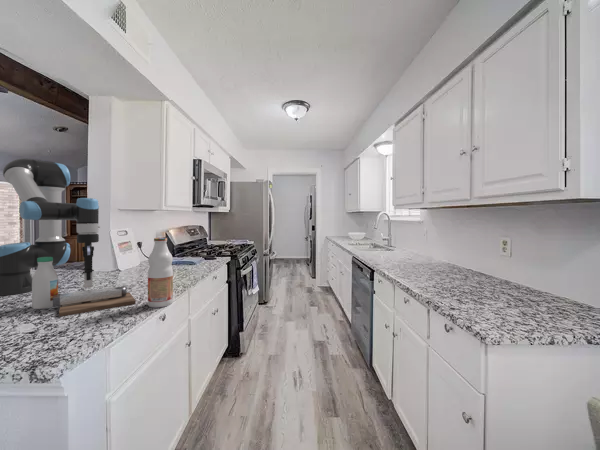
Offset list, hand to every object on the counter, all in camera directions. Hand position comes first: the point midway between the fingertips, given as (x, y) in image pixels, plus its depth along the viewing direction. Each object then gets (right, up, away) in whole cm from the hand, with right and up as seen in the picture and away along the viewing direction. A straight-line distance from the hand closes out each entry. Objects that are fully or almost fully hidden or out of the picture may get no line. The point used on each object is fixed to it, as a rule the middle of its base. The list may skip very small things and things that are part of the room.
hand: (88, 287), depth 118 cm
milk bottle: (-10, -6, -10) cm, 15 cm away
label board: (+9, -6, -7) cm, 13 cm away
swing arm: (+6, -4, -6) cm, 9 cm away
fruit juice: (+34, -6, -5) cm, 35 cm away
